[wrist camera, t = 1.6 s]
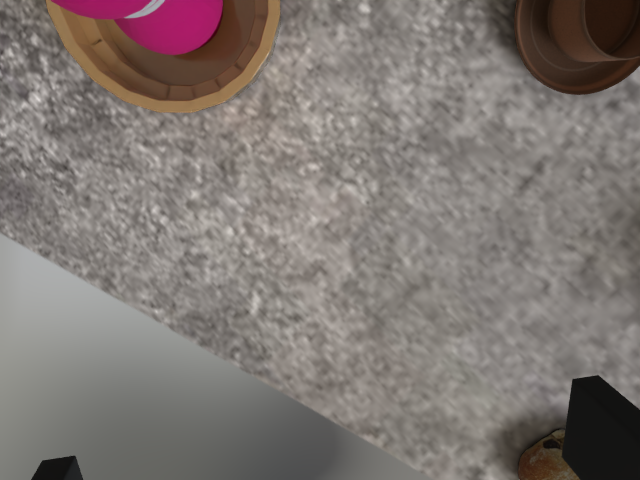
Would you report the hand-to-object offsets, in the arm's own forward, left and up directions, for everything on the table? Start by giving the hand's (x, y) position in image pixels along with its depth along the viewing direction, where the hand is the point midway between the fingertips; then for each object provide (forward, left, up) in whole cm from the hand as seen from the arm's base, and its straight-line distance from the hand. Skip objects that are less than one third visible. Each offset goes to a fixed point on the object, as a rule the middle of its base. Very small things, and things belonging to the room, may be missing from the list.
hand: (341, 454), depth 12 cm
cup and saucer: (-27, +1, -28) cm, 39 cm away
